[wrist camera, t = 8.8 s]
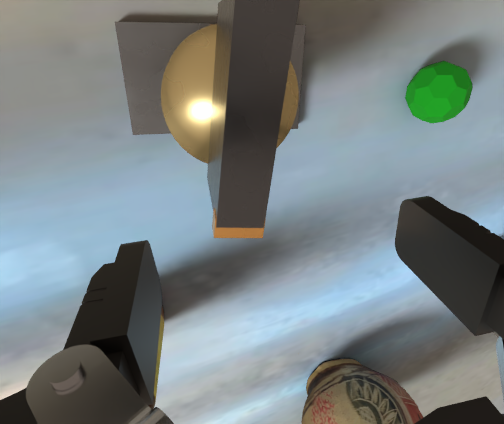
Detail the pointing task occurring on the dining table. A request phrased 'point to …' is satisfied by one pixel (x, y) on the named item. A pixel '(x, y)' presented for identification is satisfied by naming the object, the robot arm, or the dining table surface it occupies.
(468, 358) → the dining table surface
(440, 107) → the polyhedron
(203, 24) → the grey base fixture
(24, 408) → the robot arm
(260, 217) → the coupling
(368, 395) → the ceramic jug
